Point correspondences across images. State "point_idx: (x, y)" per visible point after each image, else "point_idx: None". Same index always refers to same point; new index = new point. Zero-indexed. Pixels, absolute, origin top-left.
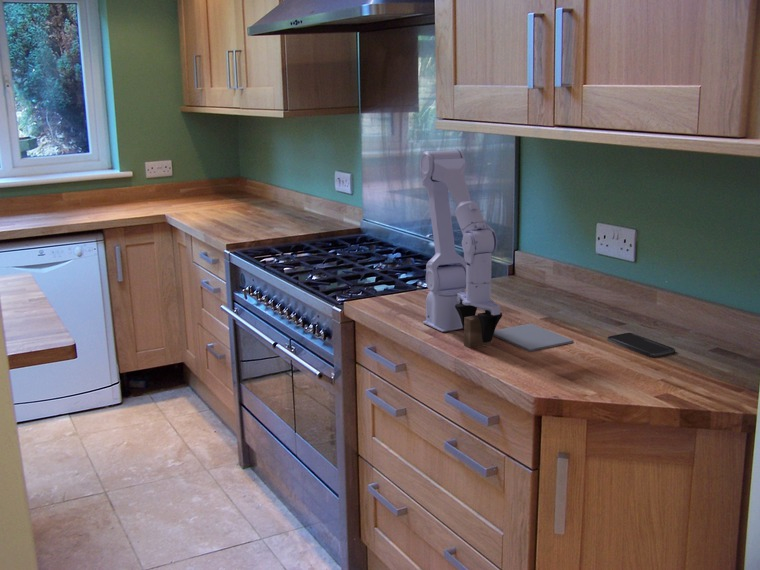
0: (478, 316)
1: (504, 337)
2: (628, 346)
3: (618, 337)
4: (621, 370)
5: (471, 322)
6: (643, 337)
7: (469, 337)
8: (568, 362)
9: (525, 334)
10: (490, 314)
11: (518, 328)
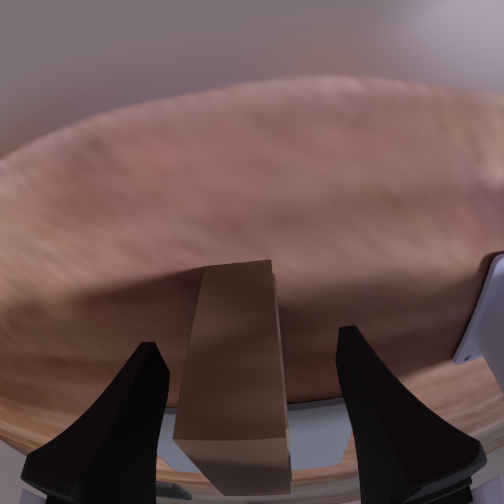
0: (72, 477)
1: None
2: None
3: (172, 491)
4: (18, 421)
5: (181, 421)
6: (162, 496)
7: (205, 313)
8: (40, 405)
9: None
10: (50, 498)
11: (324, 449)
